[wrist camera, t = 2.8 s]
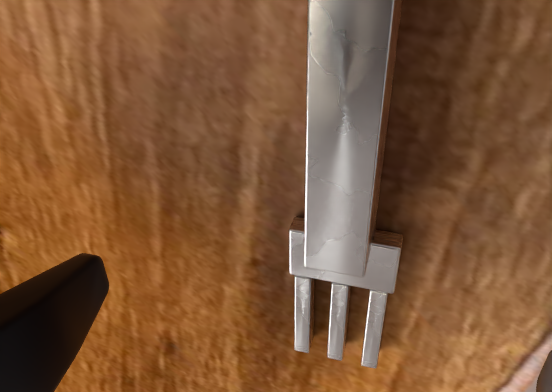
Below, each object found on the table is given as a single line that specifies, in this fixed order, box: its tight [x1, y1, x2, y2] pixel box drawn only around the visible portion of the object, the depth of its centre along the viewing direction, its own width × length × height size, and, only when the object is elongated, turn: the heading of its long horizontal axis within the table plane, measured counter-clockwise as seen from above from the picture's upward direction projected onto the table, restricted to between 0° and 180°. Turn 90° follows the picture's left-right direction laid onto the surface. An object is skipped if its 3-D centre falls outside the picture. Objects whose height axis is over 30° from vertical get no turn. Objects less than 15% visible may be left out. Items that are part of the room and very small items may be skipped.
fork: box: [289, 0, 403, 368], centre depth 14 cm, size 17×4×2 cm, turn 1°
